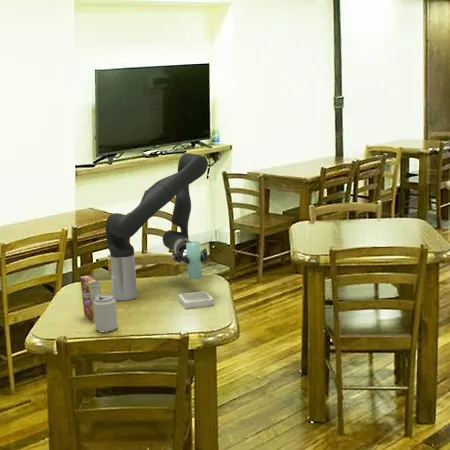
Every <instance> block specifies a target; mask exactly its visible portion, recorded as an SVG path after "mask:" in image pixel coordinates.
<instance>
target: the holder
mask: <svg viewBox="0 0 450 450" xmlns="http://www.w3.org/2000/svg"><path fill="white" fill-rule="evenodd" d="M178 302H179V303H180V304H181V306H182V307H183V308H184V309H185V310H191V309H192V310H193V309H198V308H207V307H214V306H215V299H214V298H213V297H212V296H211V294H209V292H208V291H207V290H203V291H195V292H193V291H192V292H186V293H178Z"/></svg>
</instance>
